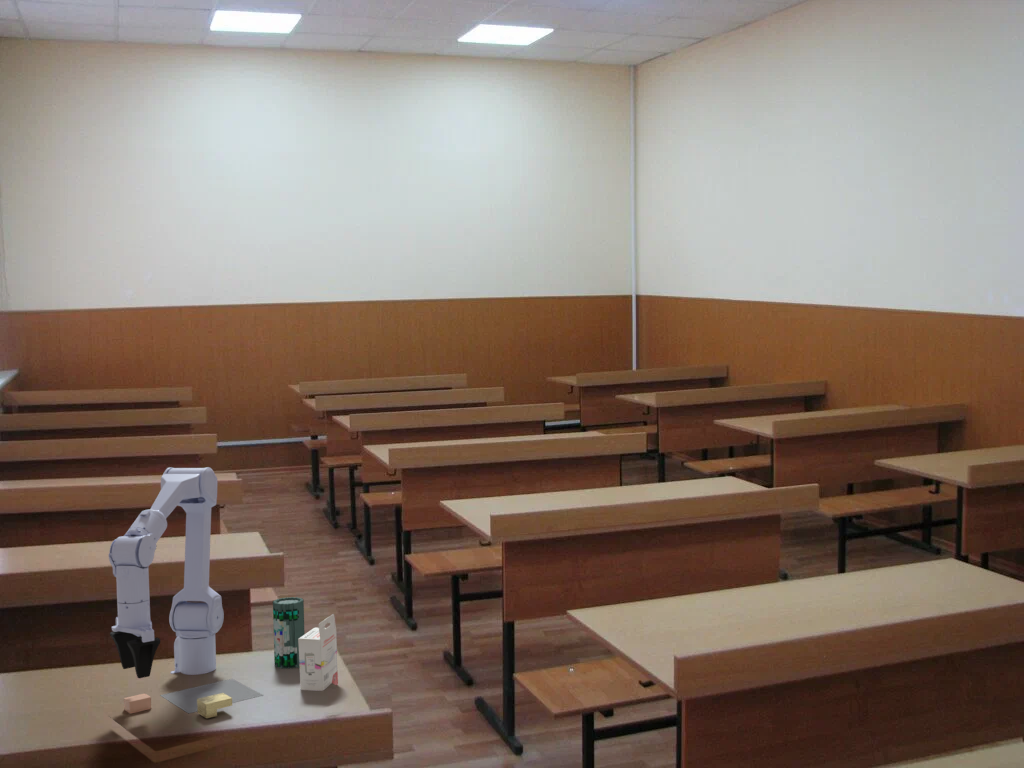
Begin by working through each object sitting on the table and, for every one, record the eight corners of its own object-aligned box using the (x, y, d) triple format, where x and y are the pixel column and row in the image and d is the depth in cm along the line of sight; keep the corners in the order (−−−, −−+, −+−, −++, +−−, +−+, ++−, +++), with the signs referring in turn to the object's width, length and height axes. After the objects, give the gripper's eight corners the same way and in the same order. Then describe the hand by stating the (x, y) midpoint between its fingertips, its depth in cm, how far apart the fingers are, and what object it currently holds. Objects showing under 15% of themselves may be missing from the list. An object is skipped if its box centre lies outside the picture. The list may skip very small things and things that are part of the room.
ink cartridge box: (315, 683, 219) (313, 612, 218) (338, 684, 218) (336, 612, 217) (299, 697, 210) (296, 623, 210) (322, 698, 209) (320, 623, 209)
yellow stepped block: (197, 712, 197) (197, 698, 197) (223, 706, 200) (222, 692, 200) (206, 718, 194) (206, 704, 194) (232, 711, 197) (232, 697, 197)
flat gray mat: (160, 702, 209) (159, 695, 209) (232, 685, 218) (232, 678, 218) (188, 721, 198) (188, 713, 198) (263, 702, 207) (263, 695, 207)
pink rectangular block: (108, 718, 202) (107, 696, 202) (150, 708, 207) (149, 687, 207) (125, 731, 195) (124, 708, 195) (168, 720, 200) (167, 698, 200)
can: (269, 672, 227) (267, 601, 226) (291, 664, 232) (289, 596, 231) (288, 677, 223) (286, 605, 223) (310, 669, 228) (308, 599, 228)
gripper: (98, 597, 203) (101, 668, 204) (125, 611, 192) (128, 686, 193) (135, 591, 208) (138, 660, 208) (164, 604, 197) (166, 677, 197)
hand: (136, 672), depth 201 cm, fingers open, 7 cm apart
